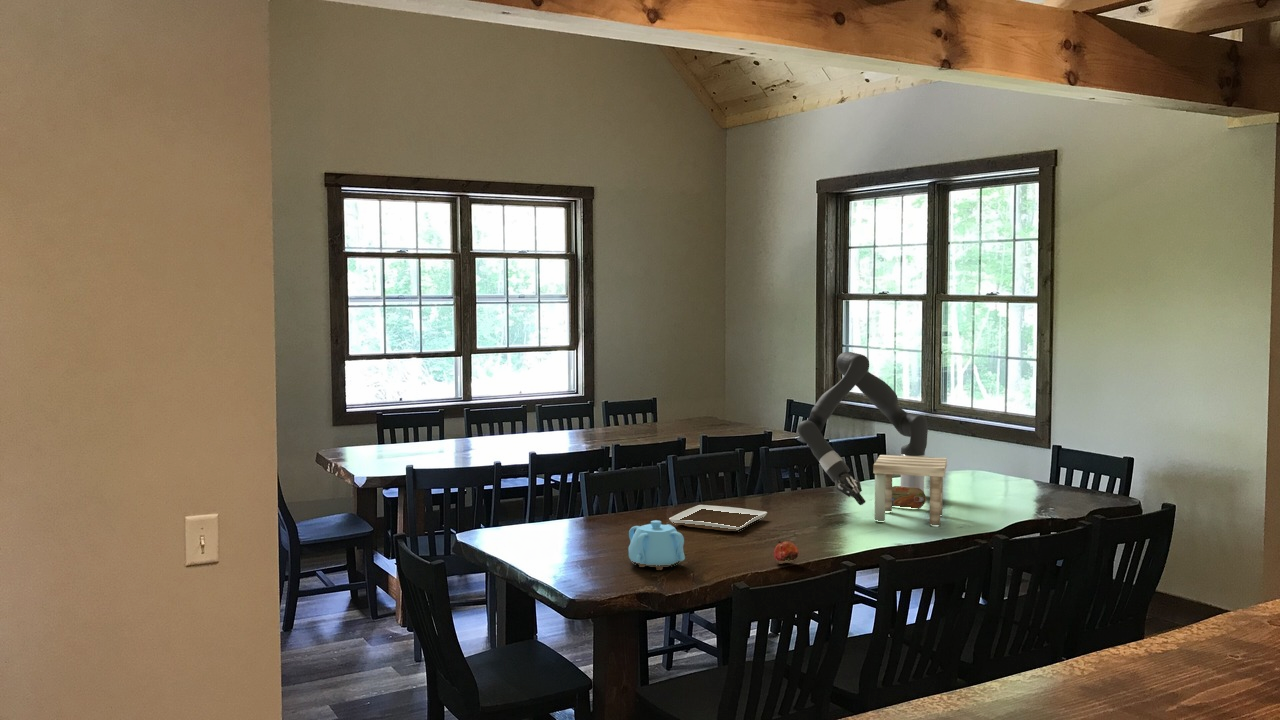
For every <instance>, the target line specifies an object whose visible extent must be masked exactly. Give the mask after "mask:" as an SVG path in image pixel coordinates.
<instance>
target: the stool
mask: <svg viewBox="0 0 1280 720" xmlns="http://www.w3.org/2000/svg"><path fill="white" fill-rule="evenodd" d="M947 460H948V457H940V456H939V457H934V456H933V457H932V456H925V457H917V456H901V455H892V454H890V455H889V454H880V455H879V456H878V458H877V459H876V460H875V462H874V463H873V467H872V468H873V469H872V471H873V472H872V473H873V474H875V473H876V474H886V475H885V511H892V512H893V507H892V487H893V475H899V476H901V475H915V476H924V477H930V478H929V479H930V480H929V525H930V524H932V525H940V526H941V516H940V515H942V516H943V495H944V494H943V492H944V491H943V490H944V489H943V483H944V480H943V479H944V478H945V475H946V472H947V466H948V464H947V463H948V461H947Z"/></svg>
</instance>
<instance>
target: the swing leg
mask: <svg viewBox="0 0 1280 720" xmlns="http://www.w3.org/2000/svg"><path fill="white" fill-rule="evenodd" d="M885 475H886V474H876V473H874V519H875V520H878V521H884V520H885V521H886V513H885Z"/></svg>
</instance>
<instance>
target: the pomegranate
mask: <svg viewBox="0 0 1280 720" xmlns="http://www.w3.org/2000/svg"><path fill="white" fill-rule="evenodd" d="M777 543H778V544H777V545H776V546H775V548H774V550H773V559H774V561H775V560H778V561H785V560H788V561H790V560H794V559H795V560H797V559H798V557H799V554H800V552H799V549H798V547H797V546H796V545H795V544H794V543H793V542H792V541H788V540H787V541H786V540H785V541H783V542H781V540H778V541H777ZM795 560H794V561H795Z"/></svg>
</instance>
